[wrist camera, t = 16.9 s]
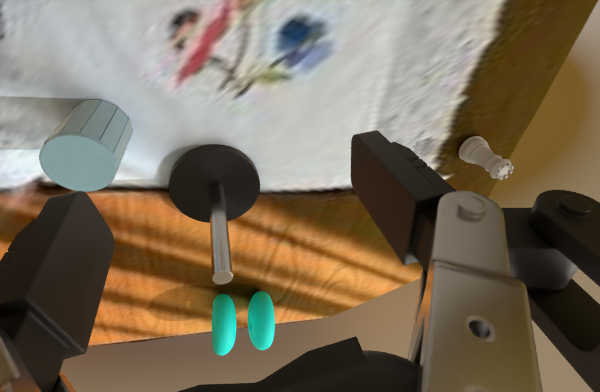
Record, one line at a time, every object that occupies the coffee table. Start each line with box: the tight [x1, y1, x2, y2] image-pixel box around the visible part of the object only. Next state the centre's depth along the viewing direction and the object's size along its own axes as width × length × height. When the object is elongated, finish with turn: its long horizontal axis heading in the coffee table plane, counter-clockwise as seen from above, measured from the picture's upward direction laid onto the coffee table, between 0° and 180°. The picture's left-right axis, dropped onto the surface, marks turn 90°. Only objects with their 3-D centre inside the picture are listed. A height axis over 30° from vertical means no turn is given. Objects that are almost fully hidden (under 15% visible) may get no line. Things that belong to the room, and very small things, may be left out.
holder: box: [169, 145, 260, 284], centre depth 38 cm, size 12×12×17 cm
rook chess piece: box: [459, 136, 514, 180], centre depth 49 cm, size 4×4×8 cm
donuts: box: [212, 291, 275, 355], centre depth 56 cm, size 10×10×10 cm
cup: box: [39, 100, 132, 192], centre depth 33 cm, size 6×6×9 cm
